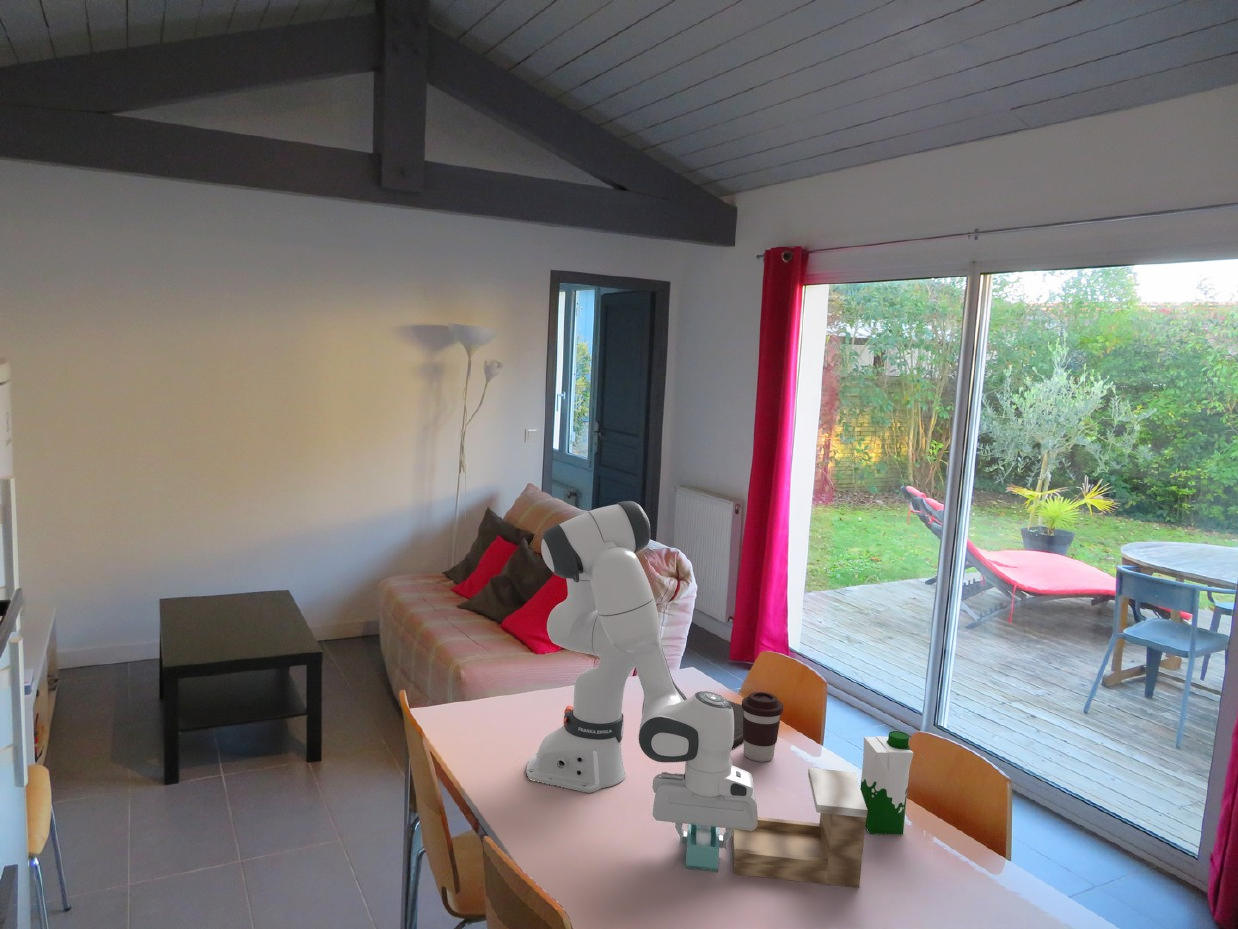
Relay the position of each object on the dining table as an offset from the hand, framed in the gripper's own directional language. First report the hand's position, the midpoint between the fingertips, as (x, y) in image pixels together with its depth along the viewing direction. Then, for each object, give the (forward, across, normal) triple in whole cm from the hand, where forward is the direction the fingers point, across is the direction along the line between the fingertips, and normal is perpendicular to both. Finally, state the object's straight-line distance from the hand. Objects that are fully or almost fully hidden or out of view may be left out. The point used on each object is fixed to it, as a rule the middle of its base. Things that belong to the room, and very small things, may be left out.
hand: (702, 844), depth 174 cm
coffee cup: (+2, +13, +46) cm, 48 cm away
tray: (+2, 0, 0) cm, 2 cm away
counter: (+2, +17, +1) cm, 18 cm away
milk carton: (+2, +37, +18) cm, 41 cm away
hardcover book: (+2, +6, +62) cm, 62 cm away
